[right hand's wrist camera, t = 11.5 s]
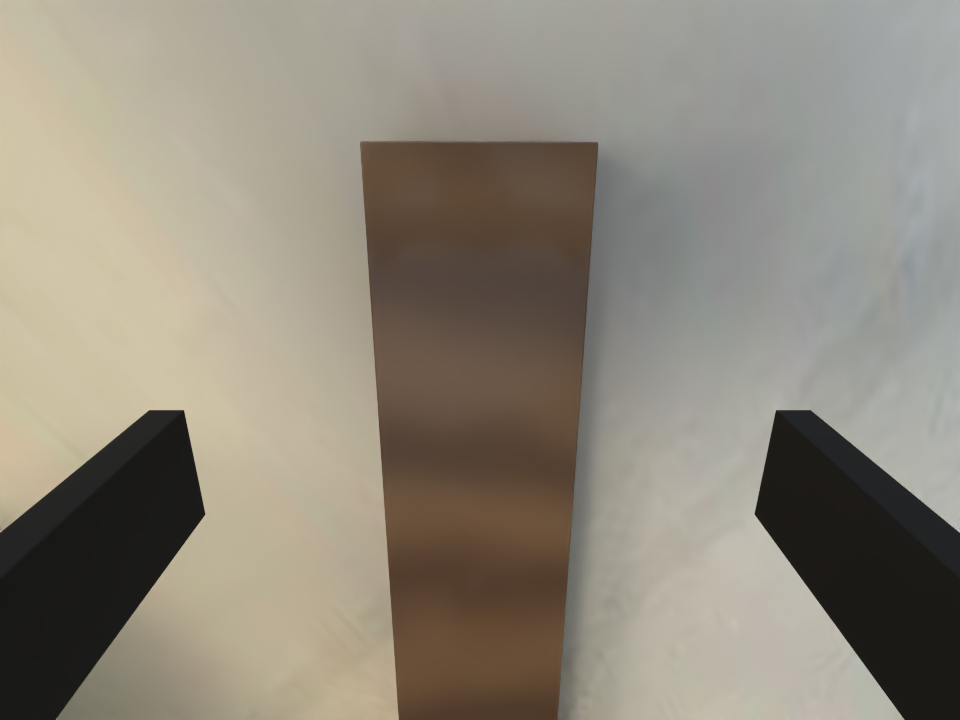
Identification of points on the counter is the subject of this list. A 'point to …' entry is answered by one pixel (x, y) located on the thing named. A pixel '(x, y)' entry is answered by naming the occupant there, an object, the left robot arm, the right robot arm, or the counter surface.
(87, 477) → the right robot arm
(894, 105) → the counter surface
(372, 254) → the thick board
